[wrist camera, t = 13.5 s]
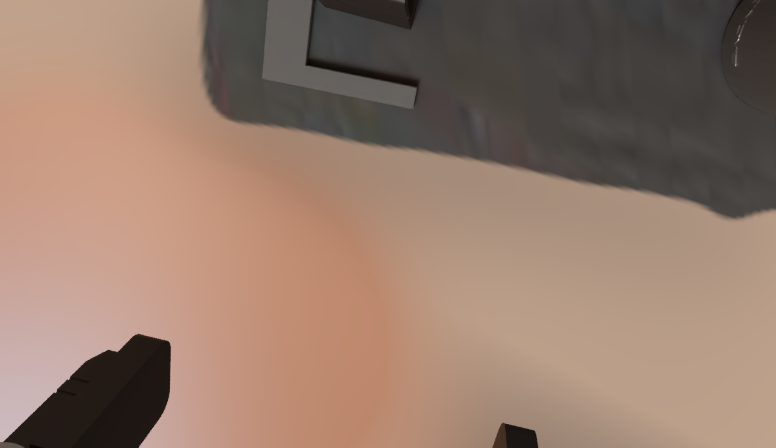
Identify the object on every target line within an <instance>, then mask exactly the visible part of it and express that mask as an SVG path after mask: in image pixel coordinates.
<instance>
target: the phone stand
mask: <svg viewBox="0 0 776 448" xmlns="http://www.w3.org/2000/svg"><path fill="white" fill-rule="evenodd" d="M319 1H320V2H321V3H322V4H323V5H324V6H325V7H327V8H331V9H335V10H339V11H342V12H346V13H350V14H354V15H357V16H361V17H365V18H369V19H373V20H376V21H380V22H384V23H388V24H391V25H395V26H399V27H403V28H406V29H410V30H411V27H412V23H413V19H414V15H415V11H416V6H417V2H418V0H319Z"/></svg>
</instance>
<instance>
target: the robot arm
mask: <svg viewBox="0 0 776 448" xmlns="http://www.w3.org/2000/svg"><path fill="white" fill-rule="evenodd" d="M721 58H722V65H723V71H724V74H725V77H726V79H727V81H728V84H729V86H730V87H731V88H732V90H733V91H734V92H735V93H736V95H737V96H738V97H739V98H741V99H742V100H743V101H745V102H746V103H747V104H748V105H750V106H753V107H755V108H757V109H759V110H761V111H764V112H766V113H768V114H770V115H772V116H775V117H776V0H743V1H742V2H741V3H740V5H739V6H738V7H737V9H736V10H735V12H734V14H733V16H732V18H731V20H730V22H729V24H728V26H727V29H726V32H725V36H724V39H723V44H722V57H721ZM170 357H171V346H170V343H169V342H168V341H165V340H161V339H157V338H153V337H149V336H144V335H141V334H137V335H135V336H133V337H132V338H131V339H130V340H129V341H128V342H127V343H126V344H125V345H124V346H123V348H121V349H120V350H119V351H118V352H115V351H111V350H107V351H105V352H103V353H101V354H99V355H97V356H95V357H93V358H91V359H90V360H88V361H86V362H85V363H84V364H83V365H82V366H81V367H80V368H79V369H78V370H77V371H76V372H75V373H74V374H73V375H72V376H71V377H70V379H69V380H66V382H64V383H63V384H62V385H61V386H60V387H59V388H58V389H57V392H56V393H53V394H52V395H51V396H50V397H49V398H48V399H47V400H46V401H45V402H44V403H43V404H42V405H41V406H40V407H39V408H38V409H37V410H36V411H35V412H34V413H33V414H32V415H30V416H29V417H28V418H27V420H25V421H24V422H23V423H22V424H21V425H20V426H19V427H18V428H17V429H16V430H15V431H14V432H13V433H12V434H11V435H10V436H9V437H8V438H7V439H6V440H5V441H4V442H0V448H139V446H140V445H141V443H142V442H143V441H144V439H145V438H146V437H147V435H148V434H149V432H150V431H151V430H152V428H153V427H154V425H155V424H156V423H157V421H158V420H159V418H160V417H161V415H162V414H163V411H164V410H165V407H166V405H167V401H168V398H169V393H170V361H171V358H170ZM493 448H538V443H537V437H536V433H535V431H534V430H530V429H526V428H522V427H517V426H514V425H509V424H505V423H502V424H501V426H500V428H499V431H498V433H497V436H496V439H495V442H494V445H493Z"/></svg>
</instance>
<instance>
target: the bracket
mask: <svg viewBox="0 0 776 448" xmlns="http://www.w3.org/2000/svg"><path fill="white" fill-rule="evenodd" d="M313 6H314V0H268V11H267V24H266V37H265V50H264V63H263V75H262V79H267V80H272V81H277V82H282V83H287V84H291V85H296V86H301V87H306V88H311V89H316V90H321V91H326V92H331V93H336V94H341V95H346V96H351V97H356V98H360V99H365V100H370V101H375V102H380V103H385V104H390V105H395V106H400V107H405V108H410V109H413V107H414V102H415V97H416V92H417V87H416V86H411V85H406V84H401V83H396V82H391V81H386V80H381V79H377V78H372V77H367V76H362V75H357V74H352V73H347V72H342V71H337V70H332V69H327V68H322V67H317V66H312V65H307V61H308V51H309V42H310V33H311V24H312V15H313Z"/></svg>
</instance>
